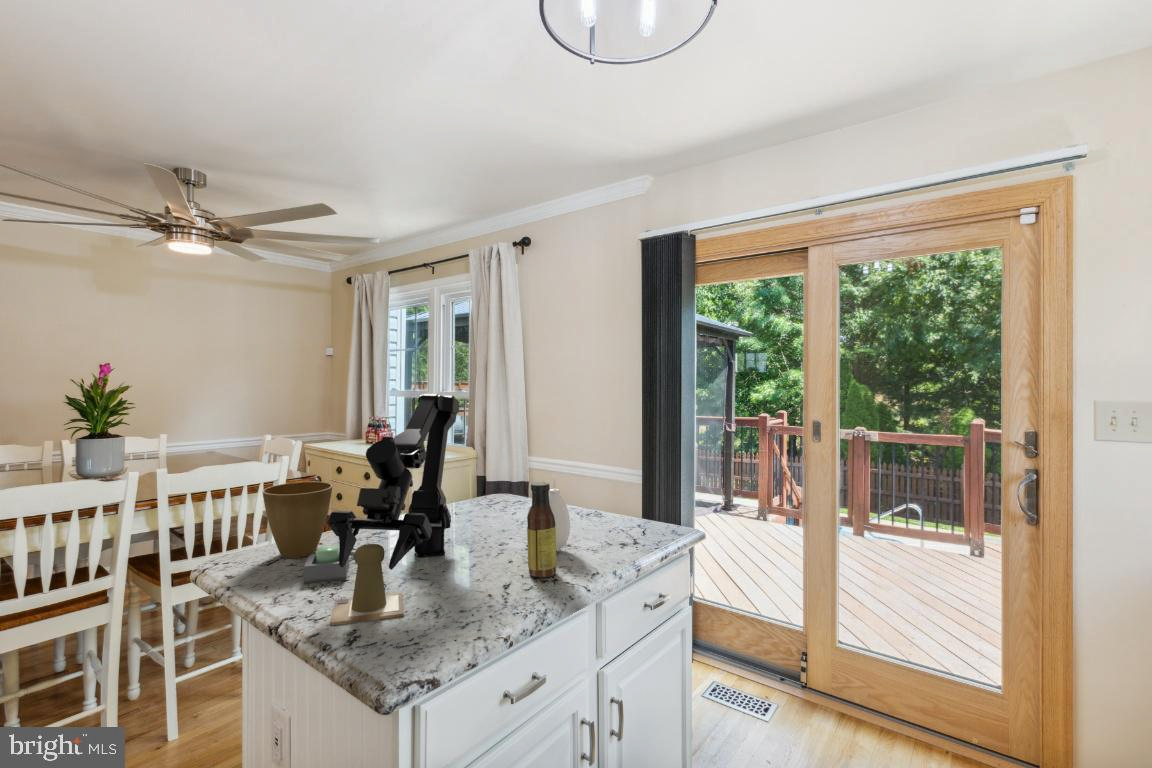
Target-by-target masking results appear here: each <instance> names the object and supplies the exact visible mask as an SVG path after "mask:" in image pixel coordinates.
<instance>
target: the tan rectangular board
mask: <svg viewBox="0 0 1152 768" xmlns="http://www.w3.org/2000/svg"><path fill="white" fill-rule="evenodd" d="M385 596H386V605H385V607H383V608H381V609H379V610H376V611H372V612H356V611H353V610H352V609H351V607H352V600H353V597H348V598H342V599H341V598H340V599H335V600H334V605H333V608H332V609H333V610H332V613H331V617H330V621H329V626H338V625H343V624H345V625H346V624H352V623H353V624H354V623H362V622H368V621H376V620H385V619H391V618H392V619H393V618H401V617H404V615H405V614H404V612H405V611H404V593H403V592H402V591H401V592H395V593H385Z"/></svg>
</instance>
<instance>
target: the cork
mask: <svg viewBox="0 0 1152 768" xmlns="http://www.w3.org/2000/svg"><path fill="white" fill-rule="evenodd" d="M353 558H354V559H353V560H354V562H355V564H356V565H357V567H356V575H355V581H354V588H353V594H352V598H353V600H352V607H351V609H352V610H353V611H356V612H372V611H376V610H379V609H381V608H383V607H385V605H386V596H385V594H386V589H385V582H384V574H383V566H382V562H383V560H384V558H385V548H384V547H383V546H382V545H381V544H379V543H367V544H363V545H361V546H359V547H357V548H356V550H355V552H354V557H353Z"/></svg>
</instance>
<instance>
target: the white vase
mask: <svg viewBox="0 0 1152 768" xmlns="http://www.w3.org/2000/svg"><path fill="white" fill-rule="evenodd" d="M552 486H553V488H550V489H549V504H550V507H551V510H552V512H553V514H554V519H555V527H556V551H557V552H560V551H561V550H562V548H564V547H566V545H567V542H568V541H569V537H570V532H571V520H570V513H569V509H568V506H567V503H566V500H565V499H564V497H563V495H562V493H560V489H558V488H556V479H553V485H552Z"/></svg>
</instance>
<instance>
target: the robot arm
mask: <svg viewBox="0 0 1152 768" xmlns="http://www.w3.org/2000/svg"><path fill="white" fill-rule="evenodd" d="M459 412H460V401H459V399H457V398H456V397H455V395H445V394H444V395H442V394H438V393H422V394H420V395H419V396H418V400H417V404H416V407H415V409H414V411H413V413H412V415H411V417H410V419H409V420H408V422H407V425H406V427H405V429H404V430H403V431H402V432H400V433H398V434H396V435H395V436H394V437H393V436H382V438H381V439H380V440H378V441H376V442H374V443H372V444H371V445H370V446H369V447H368V448H367V449H366V451H365V457H366V458H365V459H366V460H367V462H368V464H369V466H370V467H371V470H372V471H373V473H374V475H375V477H377V479H379V480H380V483H379V485H378V488H371V487H370V488H366V487H365V488H364V487H363V488H362V487H361V488H360V489H359V493H358V498H357V501H356V507H361V508H362V513H363V515H365V516H367V517H366V518H359V517H357V516H356V515H355V513H354V511H352V510H334V511H332V512H330V514H329V516H327V519H326V524H327V525H328V526H329V528H330V529H331V531H332V532H333V534H335V536H337V537H338V542H339V544H338V545H339V546H338V547H339V565H340V567H344V565H345V564H346V562H347V560H348V558H349V559H350V555H351V554H352V551H353V549H354V547H355V544H356V542H357V537H356V536H357V535H359V532H360V530H380V531H398V538H397V541H396V544H395V546H394V548H393V551H392V553H391V557H390V559H389V563H388V568H389V570H393V569H394V568H395V567H396V566H397V565H398V564H399V562H400V561H402V560H403V558H404V557H405V556H406V555H407V554H408V553H409V552H410V551H411V550H412V549H413V548H414V553H415V554H416V557H417V558H421V557H431V556H441V555H442V556H444V555H445V554H446V550H445V530H447V529H451V523H452V519H451V518H452V516H451V515H452V514H451V512H450V510H449V508H448V506H447V498H446V495H445V493H444V491H443V489H442V482H443V481H442V480H443V475H444V473H443V472H444V464H445V458H446V450H447V444H448V442H447V441H448V434H449V430H450V429H451V428H452V427H453V425H454V424H455V423H456V420H457V415H458V414H459ZM426 438H427V443H426V448H425V441H426ZM422 465H423V472H422V477H421V478H422V479H421V484H420V486H419V487H418V489H416V490H414V491H413V492H412V494H411V501H410V502H411V503H410V504H409V506H408V512H406V513H405V514H404V516H403V519H400V517H401V516H400V515H401V513H402V511H405V509H406V507H407V506H406V504H405V501H406V498H407V494H408V492H409V488H412V487H413V486H414V481H413V475H412V472H411V470H409V469H414V470H415V469H420V468H421V466H422Z"/></svg>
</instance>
